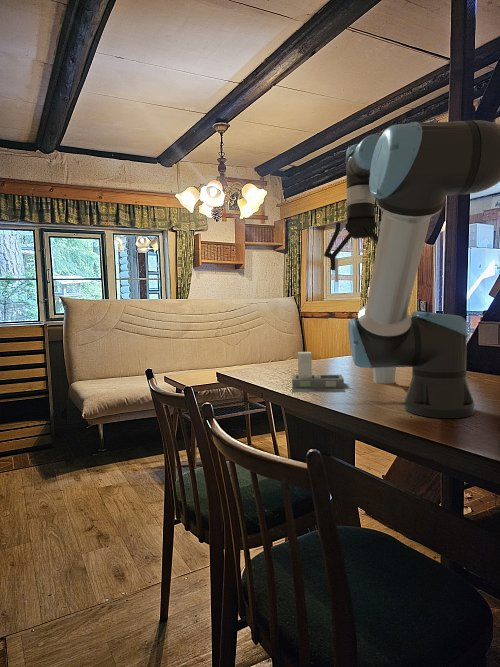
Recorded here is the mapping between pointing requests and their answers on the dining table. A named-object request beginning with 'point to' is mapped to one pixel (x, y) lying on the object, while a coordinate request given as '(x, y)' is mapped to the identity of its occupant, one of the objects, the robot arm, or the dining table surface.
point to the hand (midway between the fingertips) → (361, 281)
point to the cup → (384, 375)
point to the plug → (304, 365)
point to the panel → (318, 384)
